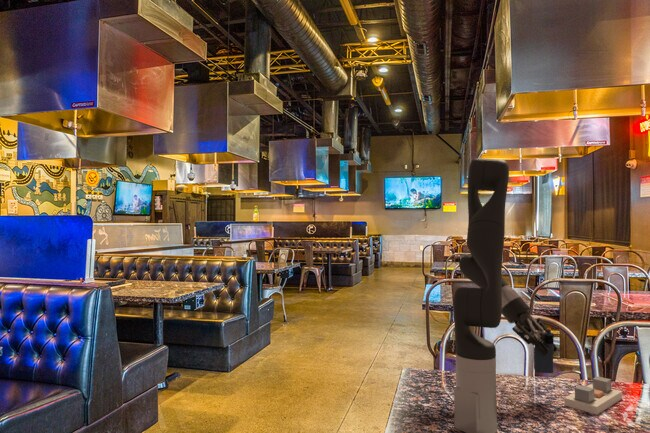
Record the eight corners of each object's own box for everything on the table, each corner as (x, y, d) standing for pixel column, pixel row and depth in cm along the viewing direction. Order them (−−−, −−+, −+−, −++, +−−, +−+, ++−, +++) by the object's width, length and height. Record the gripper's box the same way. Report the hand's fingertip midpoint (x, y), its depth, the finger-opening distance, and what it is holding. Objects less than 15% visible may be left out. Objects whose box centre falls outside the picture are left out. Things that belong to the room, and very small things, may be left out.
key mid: (598, 404, 119) (598, 394, 120) (584, 400, 122) (584, 390, 122) (603, 401, 122) (603, 391, 122) (589, 397, 124) (589, 387, 124)
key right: (606, 392, 123) (606, 381, 123) (592, 388, 126) (592, 378, 126) (611, 389, 125) (611, 379, 126) (597, 386, 128) (597, 376, 128)
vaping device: (555, 373, 124) (554, 331, 124) (535, 372, 125) (534, 330, 125) (552, 370, 127) (552, 328, 127) (532, 369, 128) (532, 328, 128)
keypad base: (596, 414, 113) (596, 406, 113) (564, 405, 119) (564, 397, 119) (622, 398, 124) (622, 391, 124) (591, 390, 131) (591, 383, 131)
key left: (589, 402, 116) (588, 391, 116) (574, 398, 118) (574, 387, 119) (594, 399, 118) (594, 388, 118) (580, 395, 121) (580, 385, 121)
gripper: (505, 298, 128) (548, 349, 118) (529, 294, 137) (572, 341, 127) (489, 314, 132) (529, 364, 122) (513, 308, 141) (553, 355, 131)
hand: (551, 352), depth 124 cm, fingers closed on vaping device, 4 cm apart
